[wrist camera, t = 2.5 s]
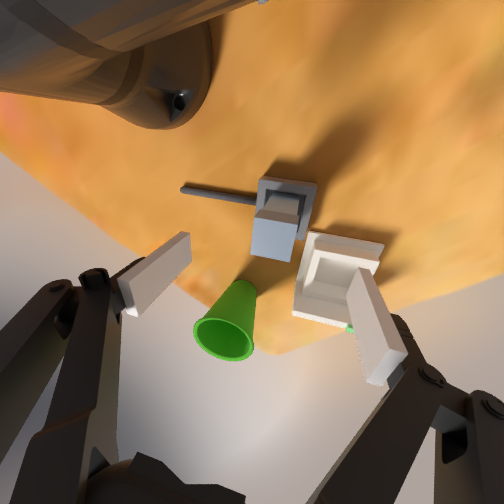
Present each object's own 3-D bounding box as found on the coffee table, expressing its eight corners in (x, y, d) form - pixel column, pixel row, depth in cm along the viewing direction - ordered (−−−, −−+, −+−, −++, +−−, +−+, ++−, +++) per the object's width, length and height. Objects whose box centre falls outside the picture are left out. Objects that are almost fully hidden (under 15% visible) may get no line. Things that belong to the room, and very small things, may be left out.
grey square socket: (263, 175, 27) (258, 179, 25) (316, 183, 26) (317, 187, 24) (257, 224, 30) (253, 231, 28) (304, 232, 29) (304, 240, 27)
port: (308, 230, 29) (308, 257, 23) (383, 243, 27) (406, 276, 21) (294, 284, 34) (291, 318, 28) (356, 298, 33) (368, 337, 26)
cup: (269, 275, 35) (254, 326, 25) (265, 312, 39) (252, 367, 30) (219, 266, 36) (188, 311, 27) (221, 303, 41) (196, 353, 32)
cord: (182, 185, 30) (178, 186, 29) (260, 197, 28) (258, 199, 28) (182, 192, 31) (179, 193, 30) (259, 204, 29) (258, 206, 28)
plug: (272, 190, 27) (254, 217, 18) (301, 194, 26) (298, 224, 17) (268, 217, 29) (250, 254, 20) (295, 222, 28) (289, 262, 19)
